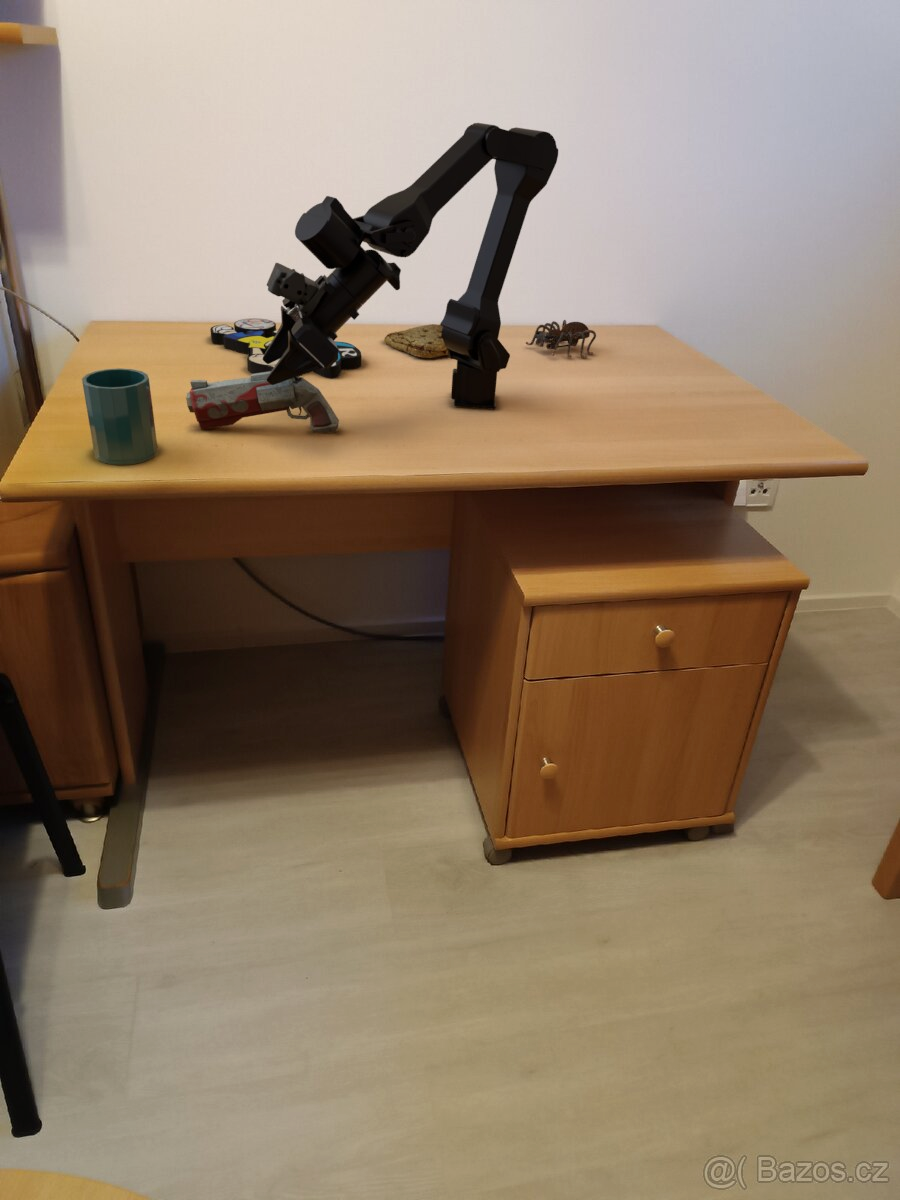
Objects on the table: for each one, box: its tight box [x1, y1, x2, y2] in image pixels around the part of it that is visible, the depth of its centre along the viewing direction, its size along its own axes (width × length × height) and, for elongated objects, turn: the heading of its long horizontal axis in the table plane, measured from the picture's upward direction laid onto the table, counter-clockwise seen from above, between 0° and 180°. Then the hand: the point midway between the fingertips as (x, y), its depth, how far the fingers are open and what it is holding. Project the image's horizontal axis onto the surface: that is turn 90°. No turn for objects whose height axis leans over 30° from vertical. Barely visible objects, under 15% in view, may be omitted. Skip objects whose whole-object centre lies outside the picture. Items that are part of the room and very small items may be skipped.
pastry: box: [384, 323, 449, 359], centre depth 163 cm, size 17×17×3 cm
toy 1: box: [209, 317, 362, 379], centre depth 154 cm, size 28×2×30 cm
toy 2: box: [525, 319, 597, 359], centre depth 166 cm, size 12×12×5 cm
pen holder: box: [81, 367, 159, 466], centre depth 112 cm, size 8×8×10 cm
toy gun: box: [185, 371, 340, 434], centre depth 123 cm, size 4×20×10 cm, turn 94°
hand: (266, 371), depth 120 cm, fingers open, 9 cm apart
